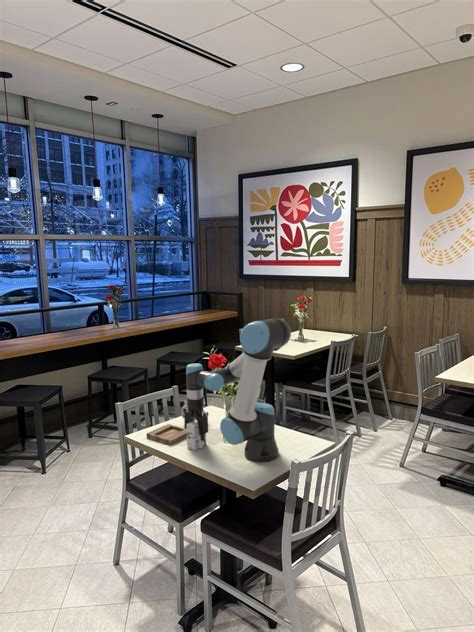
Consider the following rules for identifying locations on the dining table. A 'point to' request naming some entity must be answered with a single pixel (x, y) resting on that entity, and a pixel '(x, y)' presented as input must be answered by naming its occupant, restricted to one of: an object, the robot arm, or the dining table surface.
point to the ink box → (193, 435)
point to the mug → (185, 407)
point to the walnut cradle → (168, 434)
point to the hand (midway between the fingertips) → (196, 445)
